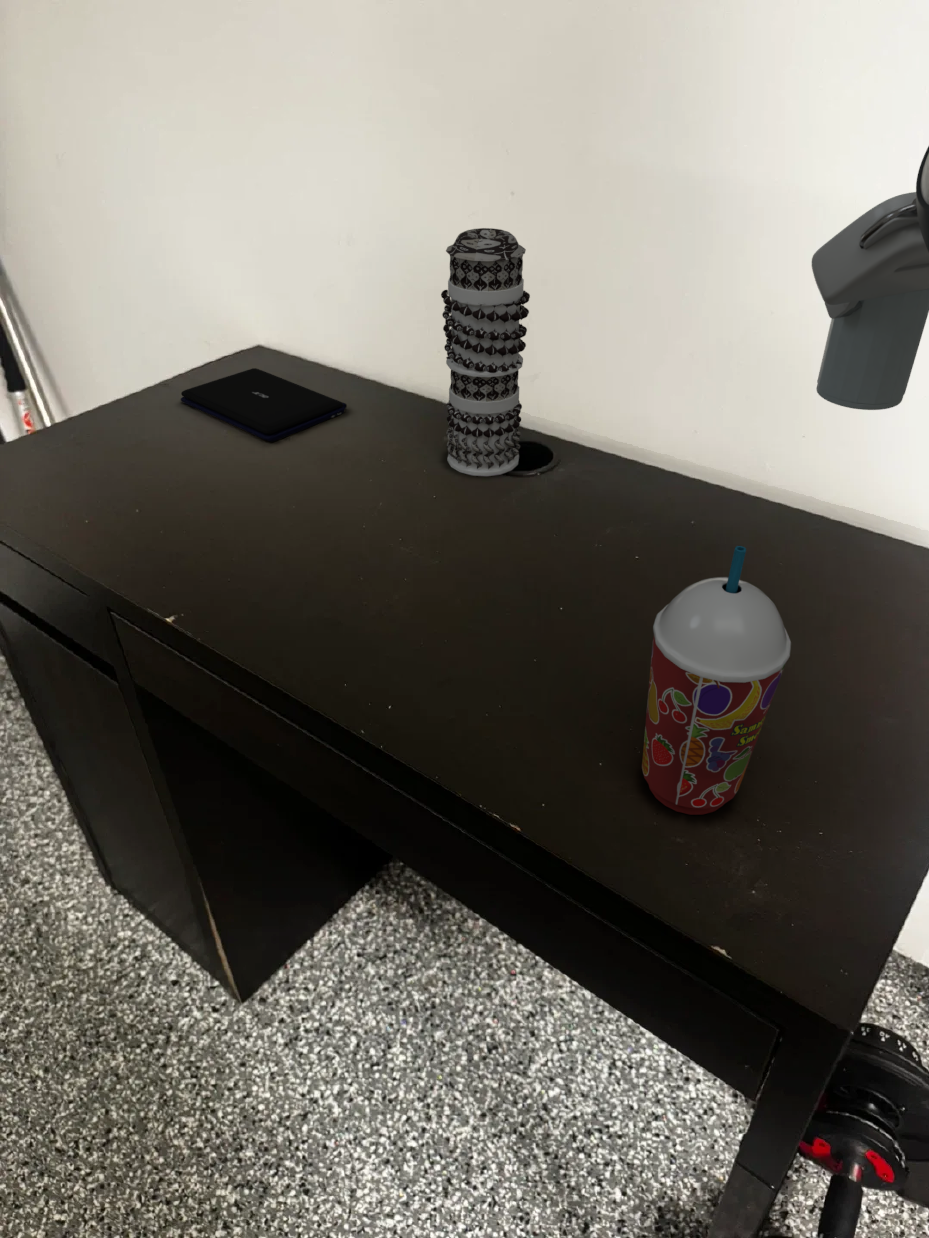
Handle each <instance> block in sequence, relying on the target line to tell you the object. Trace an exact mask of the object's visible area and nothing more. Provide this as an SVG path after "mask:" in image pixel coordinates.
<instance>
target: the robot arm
mask: <svg viewBox="0 0 929 1238" xmlns="http://www.w3.org/2000/svg"><path fill="white" fill-rule="evenodd" d="M811 271H812V275H813V278H814V281H815V284H816V287H817V288H818V291H819V294H820V296H821V298H822V300H823V302H824V305H825V308H826V311H827V315H828V317H829V318H830V319H835V318H841V317H846V316H850V315H851V314H852V313H853V312H855V311H856V310H858V309H859V308H860V307H862V305H861V302H860V300H866V299H872V298H878V297H884V296H890V295H896V294H902V293H908V292H913V291H919V290H925V289H929V145H928V146H927V148H926V151H925V153H924V155H923V157H922V159H921V162H920V165H919V168H918V171H917V175H916V183H915V191H912V192H911V191H910V192H906V193H901V194H899V195H896V196H893V197H889V198H888V199H885V200H884V201H882V202H880V203H878V204H877V205H875V206H873V207H872V208H870V209H869V210H868V211H866V212H865V213H863V214H861V215H860V216H859V217H857V218H856V219H854V220H853V221H852V222H850V223H849V224H848V225H847V226H846V227H844V228H843V229H842V230H840V231H839V232H837V234H835V235H834V236H833V237H832V238H831V239H829V240H828V241H826V242H825V243H824V244H823V245H821V247H819V248H818V249H817V250H816V251H815V252H814V253H813V255H812V257H811Z"/></svg>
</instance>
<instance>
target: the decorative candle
mask: <svg viewBox="0 0 929 1238" xmlns="http://www.w3.org/2000/svg"><path fill="white" fill-rule="evenodd" d="M526 251H527V250H526V248H525V247H523V246H522V245H521V244H520V243H519V242H518V240H517V238H516V236H515V235H513V233H511V232H510V231H507V230H504V229H501V228H493V227H491V228H489V227H481V228H472V229H467V230H464V231H462V232H460V233H459V234H458V235H457V236H456V239H455V240H454V242H453V244H450V245H448V246H447V248H446V250H445V252H446V253H447V254H448V255H449V278H448V280H447V289H444V290H442V291H441V294H440V296H441V298H442V299H443V300H442V301H443V304H444V307H443V312H442V314H441V315H442V318H443V319H444V320H445V321H444V325H443V327H442V329H443V332H444V336H445V338H446V340H445V342H446V344H445V345H444V350H445V352H446V355H447V356H446V357H445V359H446V362H445V364H446V366H447V367H448V369H450V385H449V389H448V402H447V403H446V406H445V407H446V409H447V413H448V415H447V416H446V421H447V425H448V426H449V427H448V428H447V430H446V432H445V433H446V434H445V435H446V438H447V443H446V450H447V452H448V453H447V463H448V464H449V466H450V467H451V468H452V469H453V470H456V471H457V472H458V473H462V474H466V475H469V476H474V477H476V476H478V477H491V476H499V475H503V474H506V473H508V472H511V471H513V470H514V469H515V468H516V467H517V466H518V465H519V461H520V460H519V459H520V451H519V450H520V449H521V445H520V444H519V443H520V441H521V439H520V437H521V436H522V433H521V432H520V430H519V429H520V428H519V427H520V426H521V422H522V417H521V416H520V414H521V412H522V408H523V405H522V403H520V386H519V382H518V381H519V374H520V373H519V370H521V368H523V365H524V358H523V356H522V355H521V354H520V353H521V352H523V351H524V350H525V348H526V347H527V344H526V342H525V341H523V339H522V338H524V337H525V336H526V335H527V332H528V328H527V327H526V326H524V325H523V323H520V321H522V320H523V319H526V318H527V317H528V315H529V314H530V310H529V309H528V308H527V307H525V304H527V303H529V301H530V298H531V295H530V293H529V292H527V291H526V290H524V287H525V286H524V285H525V284H524V283H525V279H524V278H523V269H524V268H523V267H524V260H523V257H524V255H525V254H526Z"/></svg>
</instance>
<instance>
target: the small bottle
mask: <svg viewBox="0 0 929 1238" xmlns="http://www.w3.org/2000/svg"><path fill="white" fill-rule="evenodd" d="M860 302H861V305H862V307H860V308H859V309H858V310H856V311H855V312H853V313H852V314H851V315H850V316H846V317H841V318H835V319H832V318H830V319H831V320H830V324H829V329H828V332H827V337H826V342H825V346H824V350H823V354H822V360H821V363H820V367H819V371H818V376H817V377H818V378H817V382H816V383H817V384H816V393H817V394H818V396H819V397H821V398H822V399H824V400H825V401H827V402H829V403H831V404H834V405H836V406H839V407H844V408H849V409H855V410H864V411H881V410H887V409H892V408H894V407H897V406H898V405H900V404H901V403H902V402H903V399H904V396H905V394H906V392H907V391H906V390H907V387H908V384H909V381H910V378H911V374H912V370H913V368H914V365H915V360H916V356H917V354H918V353H917V352H918V350H919V346H920V343H921V340H922V337H923V333H924V329H925V326H926V322H927V319H928V315H929V289H925V290H919V291H913V292H908V293H902V294H896V295H890V296H884V297H878V298H872V299H866V300H860Z"/></svg>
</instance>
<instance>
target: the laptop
mask: <svg viewBox="0 0 929 1238" xmlns="http://www.w3.org/2000/svg"><path fill="white" fill-rule="evenodd" d="M181 396H182V397H181V398H180V401H181V402H182V403H184V404H186V405H188V406H190V407H192V408H194V409H197V410H199V411H201V412H203V413H205V414H208V415H210V416H212V417H214V418H216V419H219V420H221V421H222V422H225V423H227V424H229V425H232V426H233V427H235V428H238V429H240V430H242V431H244V432H247V433H248V434H251V435H253V436H255V437H257V438H260V439H262V440H264V441H267V442H271V443H272V442H277V441H279V440H281V439H283V438H286V437H288V436H292V435H293V434H296V433H299V432H301V431H303V430H306V429H308V428H310V427H314V426H316V425H318V424H320V423H323V422H325V421H328V420H331V419H333V418H335V417H337V416H339V415H343V414H344V413H345V410H346V408H347V403H345V402H343V401H340V400H338V399H335V398H332V397H330V396H328V395H325V394H323V393H320V392H317V391H315V390H313V389H311V388H307V387H305V386H303V385H300V384H298V383H295V382H292V381H291V380H288V379H285V378H282V377H280V376H277V375H275V374H272V373H269V372H268V371H265V370H262V369H259V368H257V367H255V368H253V367H252V368H249V369H246V370H244V371H240V372H237V373H233V374H231V375H228V376H224V377H221V378H218V379H215V380H212V381H209V382H205V383H203V384H200V385H199V384H198V385H197V386H193V387H190V388H187V389H184V390H183V391H181Z"/></svg>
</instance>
